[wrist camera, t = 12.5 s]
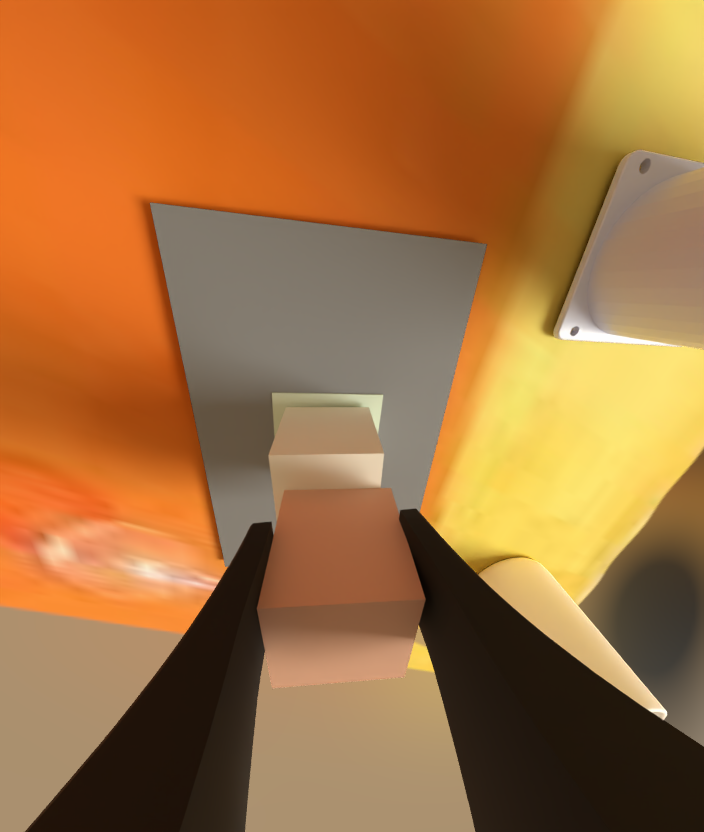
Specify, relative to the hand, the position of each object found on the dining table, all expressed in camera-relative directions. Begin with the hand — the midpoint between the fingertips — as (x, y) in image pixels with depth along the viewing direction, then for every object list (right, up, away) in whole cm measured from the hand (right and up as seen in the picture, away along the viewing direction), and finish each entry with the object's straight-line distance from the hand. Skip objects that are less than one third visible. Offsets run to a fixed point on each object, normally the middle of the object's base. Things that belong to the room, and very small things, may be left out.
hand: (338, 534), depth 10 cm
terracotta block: (0, -1, +2) cm, 2 cm away
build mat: (-1, +3, +6) cm, 7 cm away
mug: (+14, -12, +16) cm, 24 cm away
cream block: (-1, +3, +6) cm, 6 cm away
